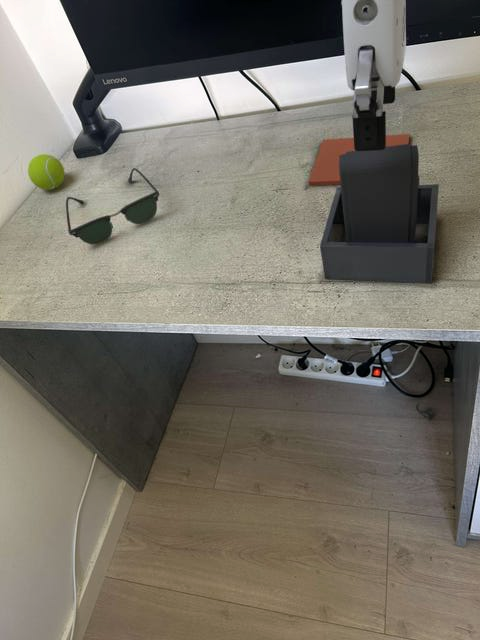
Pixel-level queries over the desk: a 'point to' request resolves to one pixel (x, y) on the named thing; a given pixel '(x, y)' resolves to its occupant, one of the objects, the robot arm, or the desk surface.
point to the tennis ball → (46, 172)
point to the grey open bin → (380, 248)
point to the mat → (329, 158)
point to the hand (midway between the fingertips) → (375, 125)
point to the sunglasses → (102, 226)
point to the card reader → (380, 194)
